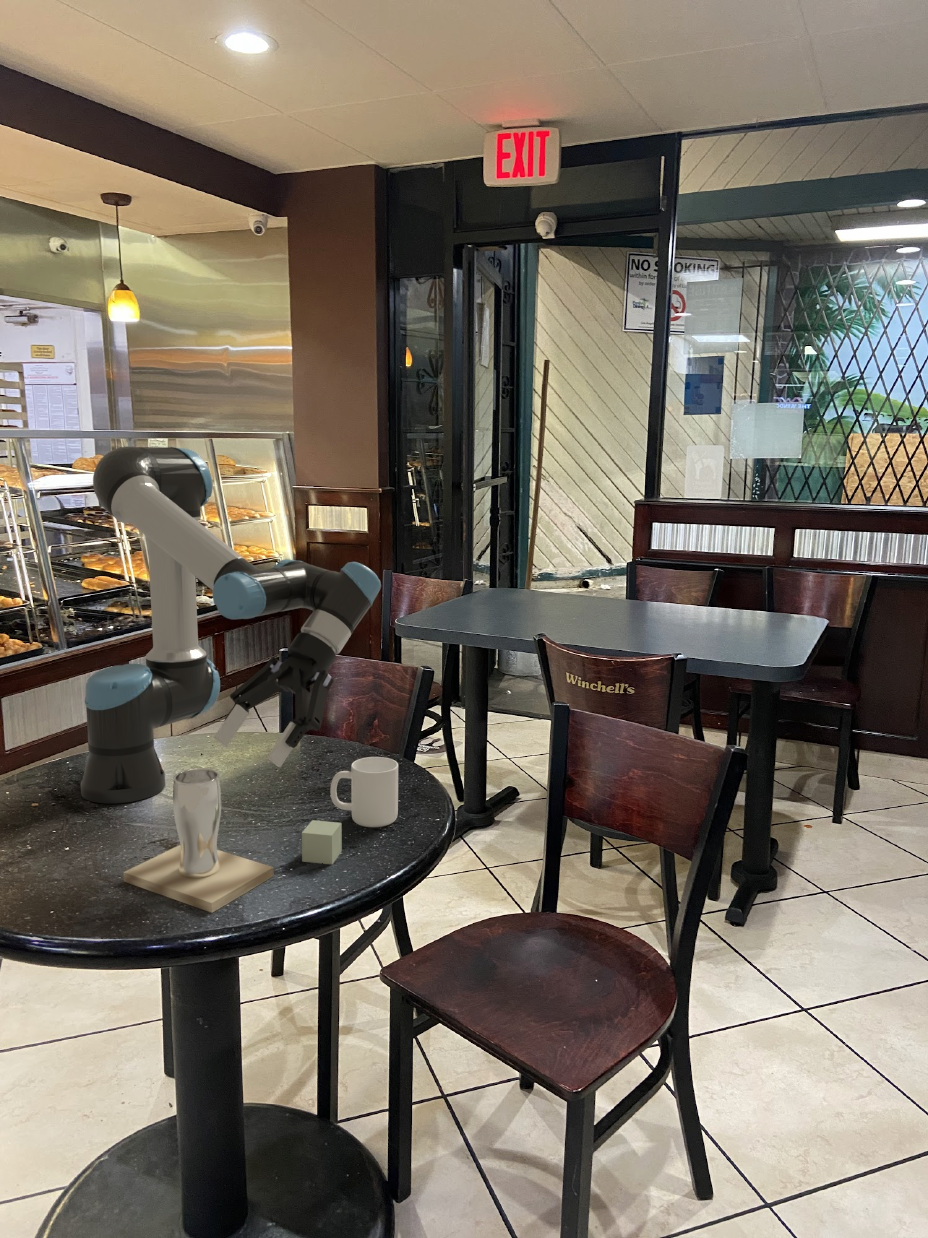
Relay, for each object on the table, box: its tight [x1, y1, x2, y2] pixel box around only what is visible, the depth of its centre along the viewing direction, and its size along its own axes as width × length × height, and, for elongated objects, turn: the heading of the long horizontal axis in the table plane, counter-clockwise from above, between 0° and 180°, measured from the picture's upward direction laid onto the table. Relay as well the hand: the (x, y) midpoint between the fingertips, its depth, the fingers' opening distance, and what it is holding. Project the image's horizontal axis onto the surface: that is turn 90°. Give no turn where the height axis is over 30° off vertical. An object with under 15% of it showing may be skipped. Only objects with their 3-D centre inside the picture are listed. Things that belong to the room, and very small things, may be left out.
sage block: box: [301, 819, 343, 865], centre depth 143 cm, size 5×5×5 cm
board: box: [123, 844, 275, 914], centre depth 135 cm, size 18×13×2 cm
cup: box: [330, 756, 399, 828], centre depth 158 cm, size 8×12×10 cm
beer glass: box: [172, 767, 222, 878], centre depth 134 cm, size 7×7×15 cm
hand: (245, 752), depth 139 cm, fingers open, 13 cm apart
